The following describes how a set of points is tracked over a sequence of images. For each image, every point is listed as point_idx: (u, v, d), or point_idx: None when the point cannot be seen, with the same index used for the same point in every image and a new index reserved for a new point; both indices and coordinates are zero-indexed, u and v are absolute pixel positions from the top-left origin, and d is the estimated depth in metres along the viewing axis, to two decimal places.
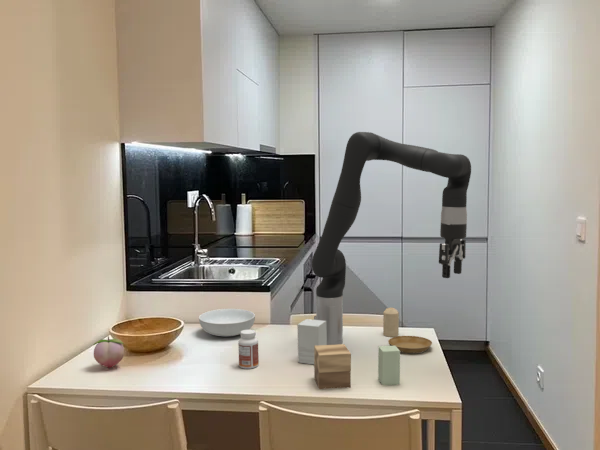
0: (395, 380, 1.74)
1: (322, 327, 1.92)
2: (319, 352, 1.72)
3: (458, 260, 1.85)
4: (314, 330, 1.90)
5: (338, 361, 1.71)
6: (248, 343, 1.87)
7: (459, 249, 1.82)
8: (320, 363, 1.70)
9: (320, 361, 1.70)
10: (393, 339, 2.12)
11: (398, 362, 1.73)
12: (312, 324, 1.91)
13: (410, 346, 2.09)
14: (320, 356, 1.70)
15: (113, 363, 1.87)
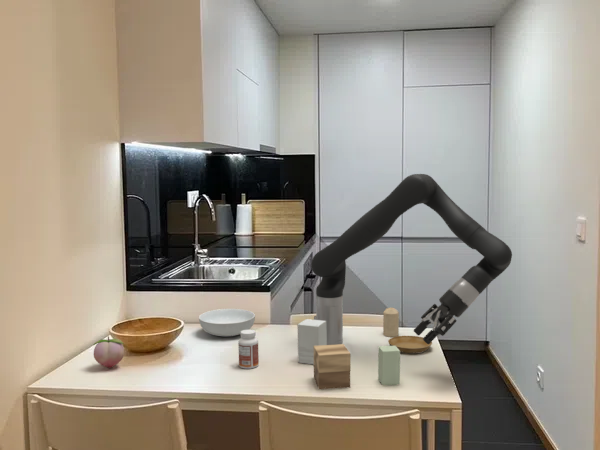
0: (395, 380, 1.74)
1: (322, 327, 1.92)
2: (319, 352, 1.72)
3: (426, 324, 1.80)
4: (314, 330, 1.90)
5: (338, 361, 1.71)
6: (248, 343, 1.87)
7: None
8: (320, 363, 1.70)
9: (320, 361, 1.70)
10: (393, 339, 2.12)
11: (398, 362, 1.73)
12: (312, 324, 1.91)
13: (410, 346, 2.09)
14: (320, 356, 1.70)
15: (113, 363, 1.87)
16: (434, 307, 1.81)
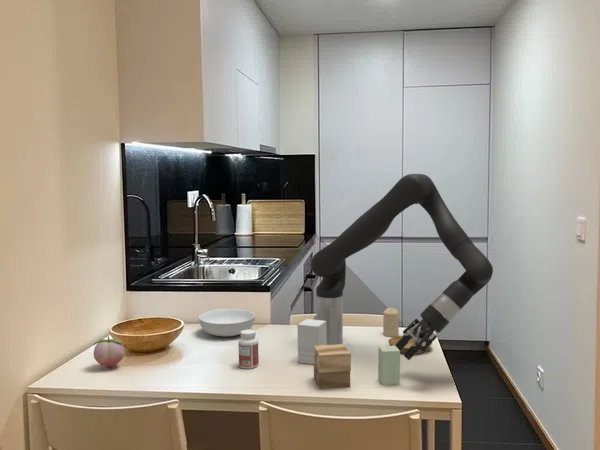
0: (395, 380, 1.74)
1: (322, 327, 1.92)
2: (319, 352, 1.72)
3: (407, 339, 1.80)
4: (314, 330, 1.90)
5: (338, 361, 1.71)
6: (248, 343, 1.87)
7: None
8: (320, 363, 1.70)
9: (320, 361, 1.70)
10: (393, 339, 2.12)
11: (398, 362, 1.73)
12: (312, 324, 1.91)
13: (410, 346, 2.09)
14: (320, 356, 1.70)
15: (113, 363, 1.87)
16: (416, 322, 1.81)
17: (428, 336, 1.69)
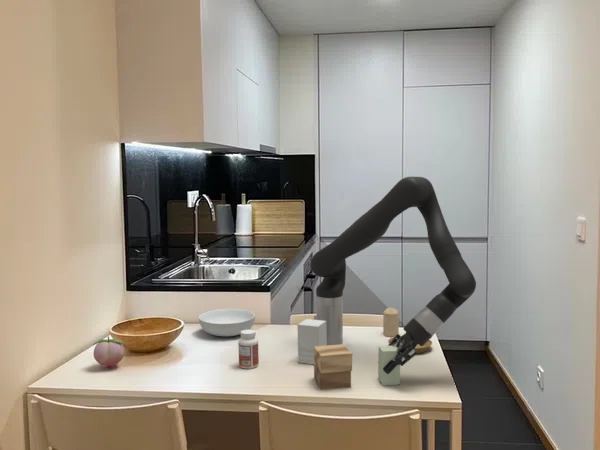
0: (395, 380, 1.74)
1: (322, 327, 1.92)
2: (320, 353, 1.72)
3: None
4: (314, 330, 1.90)
5: (339, 361, 1.71)
6: (248, 343, 1.87)
7: None
8: (322, 364, 1.70)
9: (322, 362, 1.70)
10: None
11: None
12: (312, 324, 1.91)
13: None
14: (322, 357, 1.70)
15: (113, 363, 1.87)
16: (398, 337, 1.81)
17: (407, 352, 1.69)
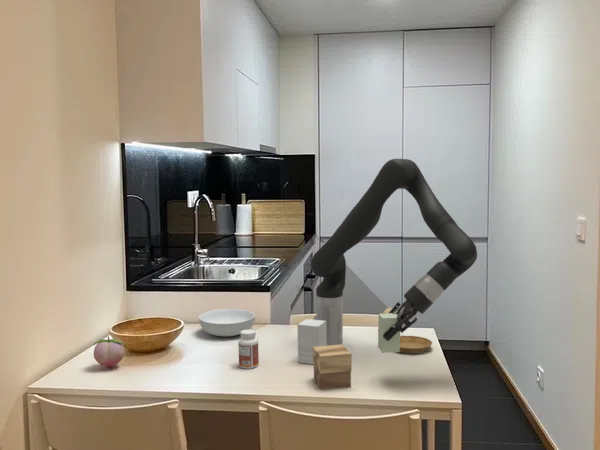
0: (395, 347, 1.73)
1: (322, 327, 1.92)
2: (319, 353, 1.72)
3: None
4: (314, 330, 1.90)
5: (339, 361, 1.71)
6: (248, 343, 1.87)
7: None
8: (321, 364, 1.70)
9: (321, 362, 1.70)
10: None
11: None
12: (312, 324, 1.91)
13: (410, 346, 2.09)
14: (321, 357, 1.70)
15: (113, 363, 1.87)
16: (398, 305, 1.80)
17: (407, 319, 1.68)
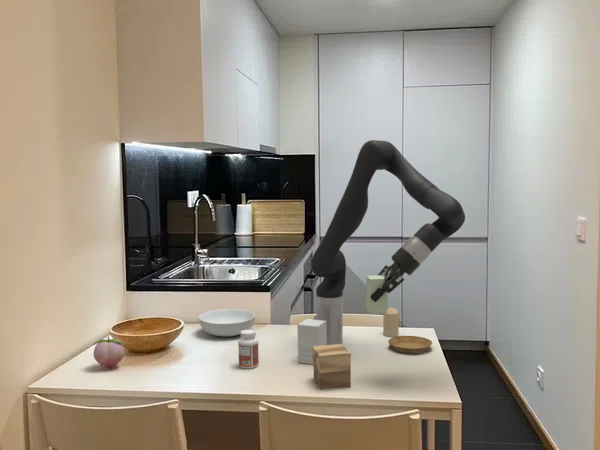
0: (383, 308, 1.73)
1: (322, 327, 1.92)
2: (319, 352, 1.72)
3: None
4: (314, 330, 1.90)
5: (338, 361, 1.71)
6: (248, 343, 1.87)
7: None
8: (321, 363, 1.70)
9: (321, 361, 1.70)
10: (393, 339, 2.12)
11: None
12: (312, 324, 1.91)
13: (410, 346, 2.09)
14: (321, 356, 1.70)
15: (113, 363, 1.87)
16: (386, 268, 1.80)
17: (394, 279, 1.68)
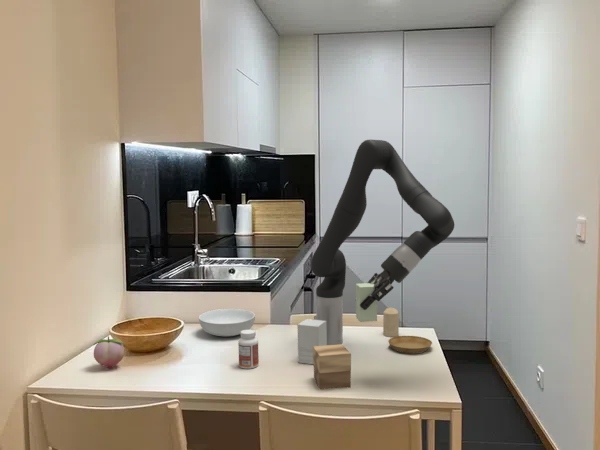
0: (373, 316, 1.73)
1: (322, 327, 1.92)
2: (319, 353, 1.72)
3: None
4: (314, 330, 1.90)
5: (338, 361, 1.71)
6: (248, 343, 1.87)
7: None
8: (321, 363, 1.70)
9: (321, 361, 1.70)
10: (393, 339, 2.12)
11: None
12: (312, 324, 1.91)
13: (410, 346, 2.09)
14: (321, 356, 1.70)
15: (113, 363, 1.87)
16: (376, 276, 1.80)
17: (384, 287, 1.68)
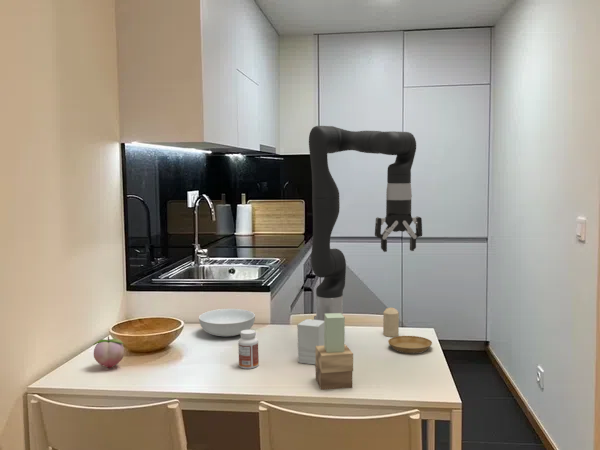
0: (340, 347, 1.72)
1: (322, 327, 1.92)
2: (321, 352, 1.72)
3: (411, 237, 1.86)
4: (314, 330, 1.90)
5: (340, 361, 1.71)
6: (248, 343, 1.87)
7: (404, 225, 1.84)
8: (323, 363, 1.70)
9: (323, 361, 1.70)
10: (393, 339, 2.12)
11: (342, 329, 1.72)
12: (312, 324, 1.91)
13: (410, 346, 2.09)
14: (323, 356, 1.70)
15: (113, 363, 1.87)
16: None
17: (375, 223, 1.85)
